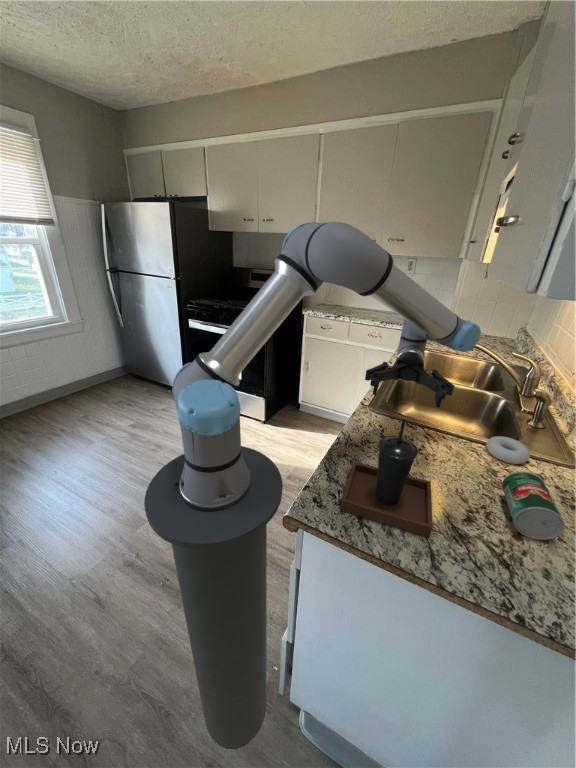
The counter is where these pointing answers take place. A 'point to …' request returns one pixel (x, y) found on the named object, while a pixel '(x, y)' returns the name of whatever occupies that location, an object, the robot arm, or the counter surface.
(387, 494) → the drinking cup
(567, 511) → the counter surface
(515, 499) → the canned tomato
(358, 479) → the tray
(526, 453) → the donut
